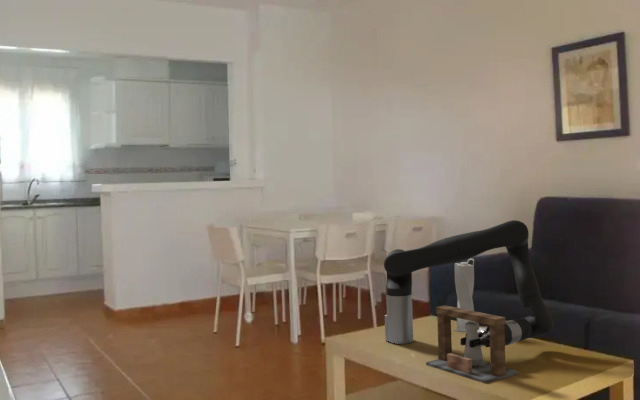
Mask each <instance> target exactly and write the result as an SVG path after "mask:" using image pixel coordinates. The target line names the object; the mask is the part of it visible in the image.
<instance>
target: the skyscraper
mask: <svg viewBox="0 0 640 400" xmlns="http://www.w3.org/2000/svg"><path fill="white" fill-rule="evenodd" d="M469 261H472V264H469ZM474 268H475V259H474V258H470V259H467V260H466V261H460V262H456V263H454V285H455V291H456V297H457V301H456V302H457V304H456V308H461V309H466V310H471V311H475V308H474V300H473V294H474V287H475V269H474ZM467 322H474V321H470V320H465V319H460V318H456V328H455V329H453V330H452V331H453V332H458V333H459V332H460V333H467V330H466V329H465V324H466V323H467Z"/></svg>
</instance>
